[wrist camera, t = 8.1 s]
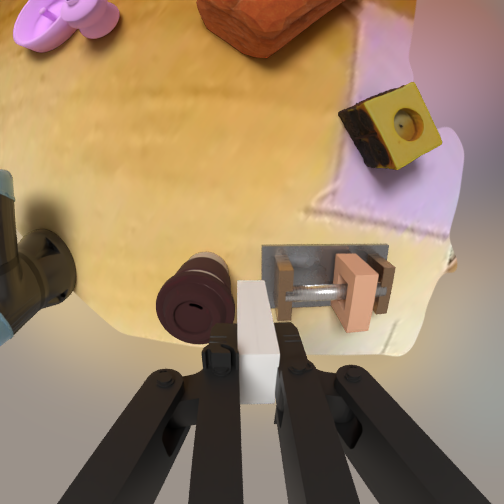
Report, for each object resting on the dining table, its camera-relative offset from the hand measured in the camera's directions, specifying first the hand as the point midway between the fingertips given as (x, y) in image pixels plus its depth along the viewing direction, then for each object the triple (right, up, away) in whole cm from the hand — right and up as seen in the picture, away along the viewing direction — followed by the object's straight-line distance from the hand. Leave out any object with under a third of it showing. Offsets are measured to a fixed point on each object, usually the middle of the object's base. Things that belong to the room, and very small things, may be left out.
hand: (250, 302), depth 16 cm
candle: (+20, +23, +24) cm, 39 cm away
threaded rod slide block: (+13, -1, +32) cm, 34 cm away
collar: (+15, -2, +30) cm, 33 cm away
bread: (+5, +45, +17) cm, 48 cm away
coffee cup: (-7, 0, +31) cm, 32 cm away
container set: (-34, +47, +15) cm, 59 cm away
